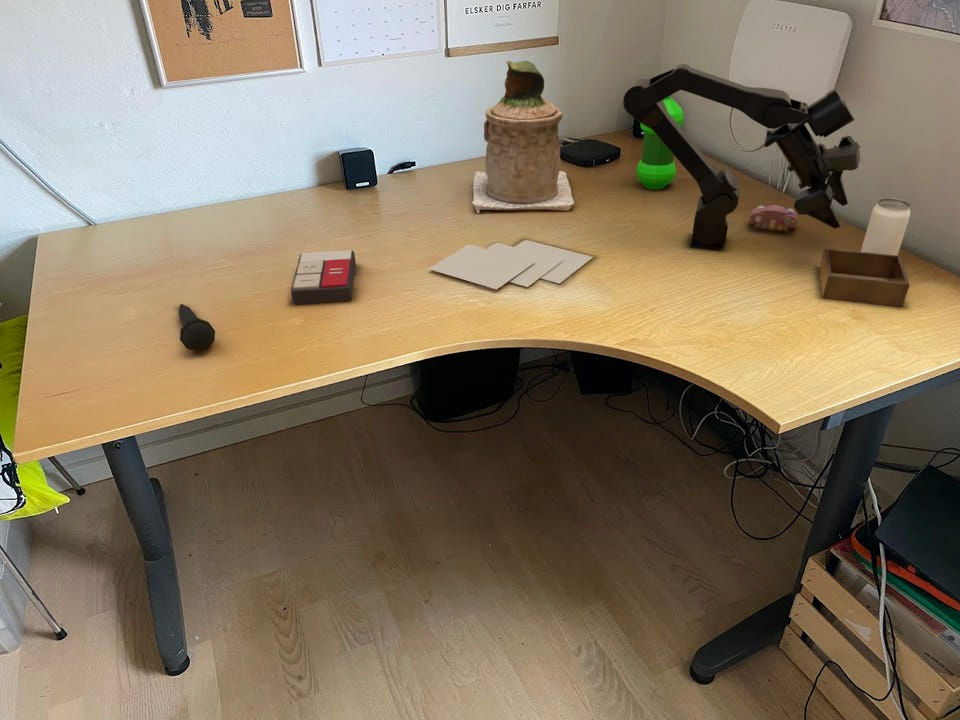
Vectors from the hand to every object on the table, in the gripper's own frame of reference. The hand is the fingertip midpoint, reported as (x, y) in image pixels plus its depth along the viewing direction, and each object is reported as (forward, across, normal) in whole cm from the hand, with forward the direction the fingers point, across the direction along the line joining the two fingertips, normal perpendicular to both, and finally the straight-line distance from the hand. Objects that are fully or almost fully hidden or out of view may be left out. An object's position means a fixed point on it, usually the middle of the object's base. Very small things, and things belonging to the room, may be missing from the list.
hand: (841, 215), depth 142 cm
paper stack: (-32, -33, +47) cm, 66 cm away
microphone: (-62, -81, +73) cm, 125 cm away
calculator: (-53, -57, +67) cm, 103 cm away
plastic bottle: (-18, +22, +43) cm, 52 cm away
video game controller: (0, +7, +17) cm, 18 cm away
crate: (+9, -13, -1) cm, 16 cm away
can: (+12, 0, -1) cm, 12 cm away
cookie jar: (-38, +3, +63) cm, 73 cm away
